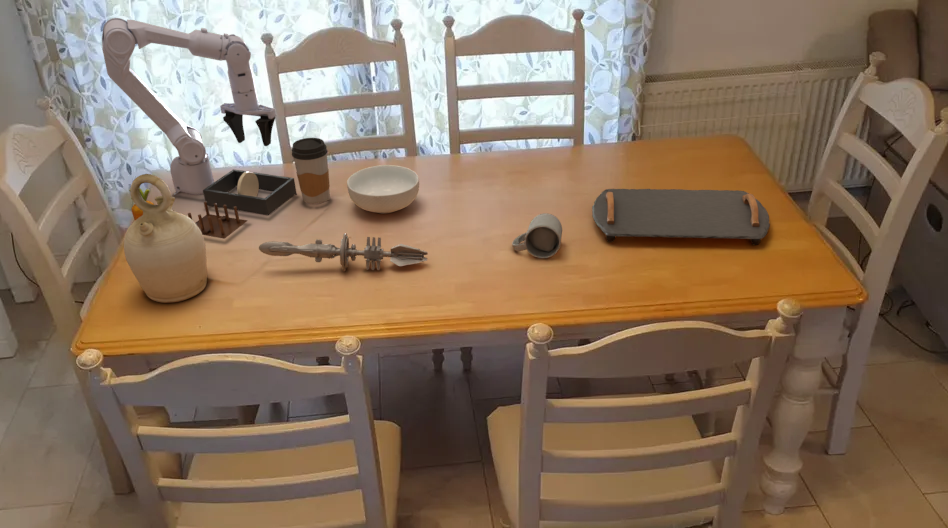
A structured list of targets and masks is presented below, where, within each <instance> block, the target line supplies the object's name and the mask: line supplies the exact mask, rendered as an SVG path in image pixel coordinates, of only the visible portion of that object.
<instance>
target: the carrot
mask: <svg viewBox="0 0 948 528" xmlns="http://www.w3.org/2000/svg"><path fill="white" fill-rule="evenodd" d="M128 191H129V192H130V189H128ZM140 194H141V196H142V198H143V199H144V200H145V201H146V202H148V203H150V204H152V205H155V204H154V203H153V202H152V201H151V200H148V196H149V194H150V189H148V188H147V189H145V191H144V192H143V190H142V189H141V188H140ZM130 199H131V200H132V198H131V197H130ZM131 213H132V217H133V220H134V221H135V220H137V219H138V218H139V217H140V216H142V215H143V211H142V210H141V209H140V208H138V207H137V206H136V205H135V203H134V204H133V205H132V207H131Z"/></svg>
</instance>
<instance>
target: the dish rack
mask: <svg viewBox="0 0 948 528" xmlns="http://www.w3.org/2000/svg"><path fill="white" fill-rule="evenodd" d="M203 205H204V209H205V214H206V215H204V216H202V214H197V218H198V220H197V221H196V222H195V224H196V225H197V226H198V227H199V229H200V231H201V232H202V235H203V236H207V237H212V238H218V239H222V240H223V239H224V240H225V239H226V238H227V237H229V236H230V235H231V234H233V233H234V232H235V231H237V230H238V229H239V228H240V227H242V226H243V225H245V223H247V222H248V219H241V218H240V217H239V210H237V207H236V206H234V210H233V213H234V216H235V217H230V215H229V211H228V210H229V209H227V206H226V205H223V207H224V208H223V211H224V215H220V211H219V207H218V206H217V203H214V206H213V207H214V211H215V214H211V213H210V210H209V206H208V205H207V202H206V201H205V200H204V201H203ZM187 216H188V217H189V218H191V219H192V220H193V217H192V213H191V212H188V213H187Z"/></svg>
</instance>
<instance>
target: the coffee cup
mask: <svg viewBox="0 0 948 528" xmlns="http://www.w3.org/2000/svg"><path fill="white" fill-rule="evenodd" d="M327 147H328V146H327V144H326V143H325V141H324V139H322V138H319V137H305V138H301V139H297V140H296V141H294V142H293V143H292V148H291V156H292V158H293V162H294V166H295V172H296V176H297V180H298V185H299V189H300V192H301V196H302V200H303V201H304V203H306V204H309V205H310V204H311V205H318V204H323V203H325V202H327V201H330V200H331V190H330V170H329V163H328V161H329V160H328V152H329V151H328V149H327Z"/></svg>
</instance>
